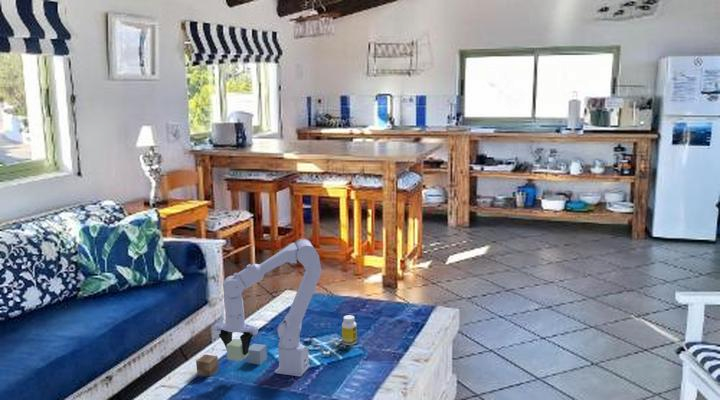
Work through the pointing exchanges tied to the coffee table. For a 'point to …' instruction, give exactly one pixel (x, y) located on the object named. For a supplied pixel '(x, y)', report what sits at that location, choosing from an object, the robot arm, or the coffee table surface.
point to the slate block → (257, 354)
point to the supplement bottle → (349, 330)
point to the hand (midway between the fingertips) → (238, 352)
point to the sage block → (235, 350)
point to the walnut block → (207, 365)
